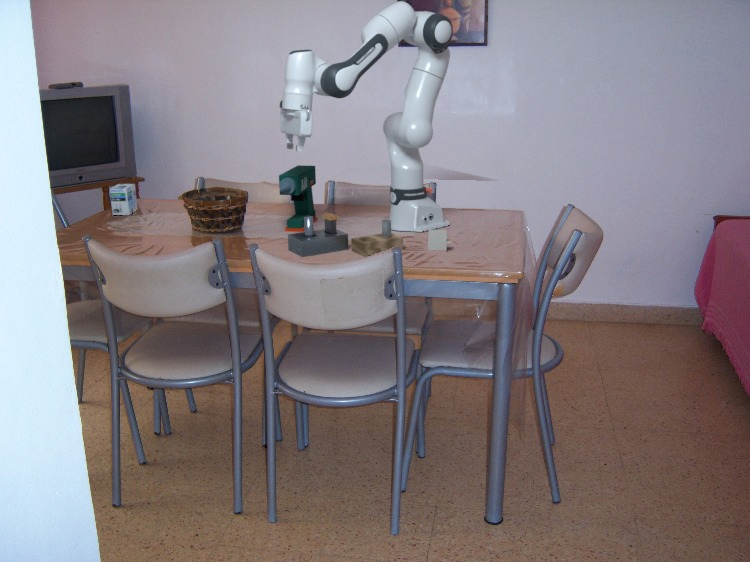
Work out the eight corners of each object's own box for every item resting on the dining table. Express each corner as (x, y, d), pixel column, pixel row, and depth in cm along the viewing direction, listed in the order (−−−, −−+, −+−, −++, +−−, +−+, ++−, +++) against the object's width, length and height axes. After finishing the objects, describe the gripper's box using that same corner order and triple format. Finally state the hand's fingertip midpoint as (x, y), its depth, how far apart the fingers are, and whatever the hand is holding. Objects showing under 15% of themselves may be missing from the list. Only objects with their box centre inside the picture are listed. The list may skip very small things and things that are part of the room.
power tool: (293, 241, 257) (290, 181, 251) (272, 240, 258) (269, 180, 252) (319, 220, 287) (317, 165, 281) (300, 219, 288) (298, 165, 282)
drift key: (331, 237, 251) (330, 213, 249) (339, 241, 247) (338, 216, 244) (322, 239, 249) (321, 214, 247) (330, 242, 245) (329, 217, 243)
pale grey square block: (428, 250, 246) (428, 227, 244) (450, 250, 246) (450, 227, 243) (427, 253, 243) (428, 230, 241) (450, 253, 242) (450, 230, 240)
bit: (311, 249, 247) (310, 215, 244) (315, 251, 245) (314, 216, 241) (303, 250, 246) (302, 216, 242) (307, 252, 243) (306, 218, 240)
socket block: (333, 242, 255) (332, 227, 253) (348, 249, 246) (348, 234, 245) (288, 249, 247) (287, 234, 245) (302, 257, 239) (301, 241, 237)
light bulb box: (129, 216, 297) (126, 188, 294) (112, 216, 297) (108, 188, 294) (138, 210, 307) (135, 183, 304) (121, 210, 307) (118, 183, 304)
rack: (389, 244, 252) (389, 217, 249) (403, 249, 245) (403, 221, 242) (351, 250, 245) (350, 222, 242) (364, 256, 238) (363, 227, 236)
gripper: (319, 106, 230) (315, 153, 233) (296, 104, 248) (293, 148, 251) (298, 104, 228) (295, 152, 231) (277, 102, 246) (274, 147, 249)
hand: (294, 150), depth 241 cm, fingers open, 8 cm apart
